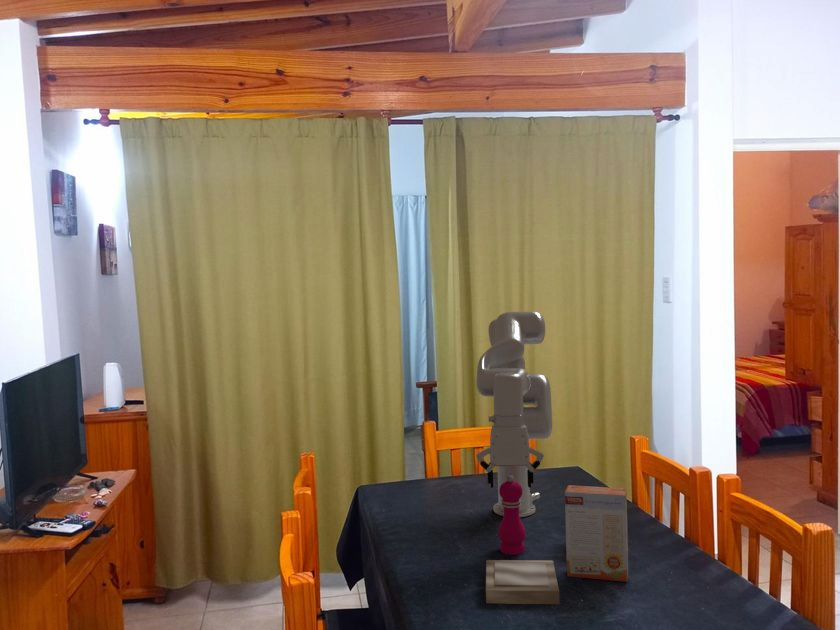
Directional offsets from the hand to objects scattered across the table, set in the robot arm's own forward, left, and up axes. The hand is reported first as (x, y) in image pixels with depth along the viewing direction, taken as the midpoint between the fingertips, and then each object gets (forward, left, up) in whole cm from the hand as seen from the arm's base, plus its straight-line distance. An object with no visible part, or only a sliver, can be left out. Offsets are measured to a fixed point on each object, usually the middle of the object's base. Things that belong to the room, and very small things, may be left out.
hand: (510, 486), depth 185 cm
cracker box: (-4, +24, -18) cm, 30 cm away
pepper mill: (0, 0, -18) cm, 18 cm away
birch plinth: (+14, +16, -17) cm, 27 cm away
